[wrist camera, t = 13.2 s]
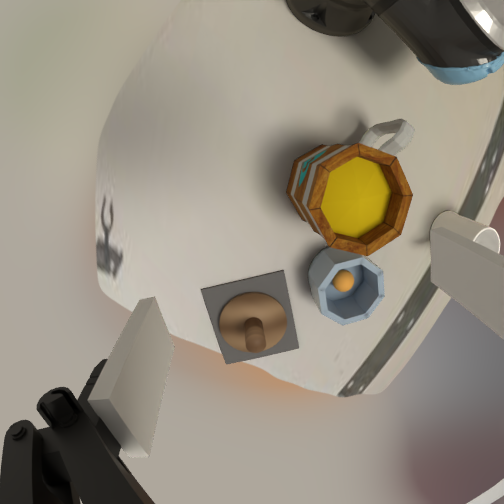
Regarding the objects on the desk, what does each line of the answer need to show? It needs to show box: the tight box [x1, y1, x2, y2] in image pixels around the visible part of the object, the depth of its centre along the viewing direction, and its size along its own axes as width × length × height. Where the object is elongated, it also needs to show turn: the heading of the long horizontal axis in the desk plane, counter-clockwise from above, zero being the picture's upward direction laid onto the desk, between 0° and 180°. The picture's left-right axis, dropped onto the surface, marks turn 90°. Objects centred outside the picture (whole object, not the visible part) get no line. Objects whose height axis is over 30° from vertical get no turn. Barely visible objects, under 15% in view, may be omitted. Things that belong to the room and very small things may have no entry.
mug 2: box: [431, 211, 500, 254], centre depth 47 cm, size 12×8×12 cm
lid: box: [219, 292, 287, 353], centre depth 52 cm, size 12×12×7 cm
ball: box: [332, 270, 354, 292], centre depth 51 cm, size 4×4×4 cm
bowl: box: [308, 247, 384, 325], centre depth 50 cm, size 10×10×8 cm
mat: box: [201, 270, 299, 364], centre depth 55 cm, size 16×14×1 cm
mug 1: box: [286, 119, 415, 256], centre depth 41 cm, size 20×14×15 cm
